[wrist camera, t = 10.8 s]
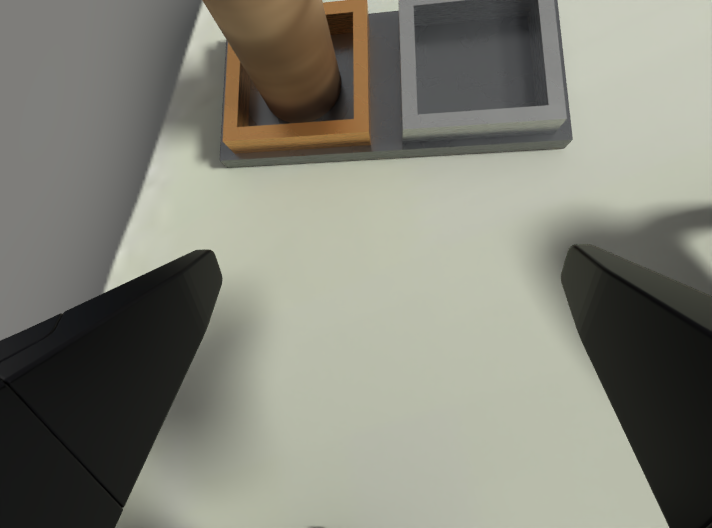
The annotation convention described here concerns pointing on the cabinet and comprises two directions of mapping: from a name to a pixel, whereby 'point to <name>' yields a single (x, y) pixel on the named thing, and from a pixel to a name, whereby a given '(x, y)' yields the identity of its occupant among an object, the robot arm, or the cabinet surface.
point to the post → (283, 53)
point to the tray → (417, 86)
